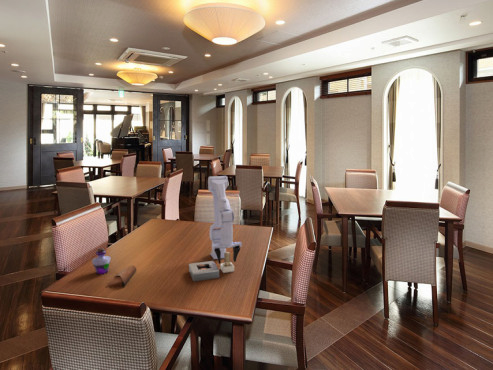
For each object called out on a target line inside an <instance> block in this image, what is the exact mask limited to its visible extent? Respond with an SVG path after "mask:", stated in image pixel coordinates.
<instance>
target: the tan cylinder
mask: <svg viewBox="0 0 493 370" xmlns="http://www.w3.org/2000/svg"><path fill="white" fill-rule="evenodd" d="M223 259H224V260H223V261H224V262H223V263H224V267H227V266H230V262H231V252H229V251H226V252H225V253H224V258H223Z"/></svg>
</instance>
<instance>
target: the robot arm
mask: <svg viewBox="0 0 493 370" xmlns="http://www.w3.org/2000/svg"><path fill="white" fill-rule="evenodd" d="M207 179H208V180H207V185H208V186H207V189H208V192H209V193H211V194H212V200H213V201H212V203H213V219H214V220H213V221H214V222H213V223H212V224H210V226H209V231H208V232H209V234H208V235H209V239H210V241H211V252H210V256H211V257H212V258H213V260H217V262H218V264H221V263H222V262H221V261H222V260H221V259H224V253H225V252H227V249H229V248H232V252H233V253H232V255H233V256H232V259H233V262H234V263H235V262H236V261H237V258H238V254H239V253H240V251H241V247H243V246H242V244H243V243H242V241H233V240H234V239H233V238H234V237H233V233H234V232H233V223H234V220H235V215H234V210H233V209H232V207H231V204H230V200H229V199H228V198H227V195H226V190H227V188H228V185H229V180H228V176H227V175H220V176H219V175H218V176H208V178H207Z"/></svg>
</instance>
